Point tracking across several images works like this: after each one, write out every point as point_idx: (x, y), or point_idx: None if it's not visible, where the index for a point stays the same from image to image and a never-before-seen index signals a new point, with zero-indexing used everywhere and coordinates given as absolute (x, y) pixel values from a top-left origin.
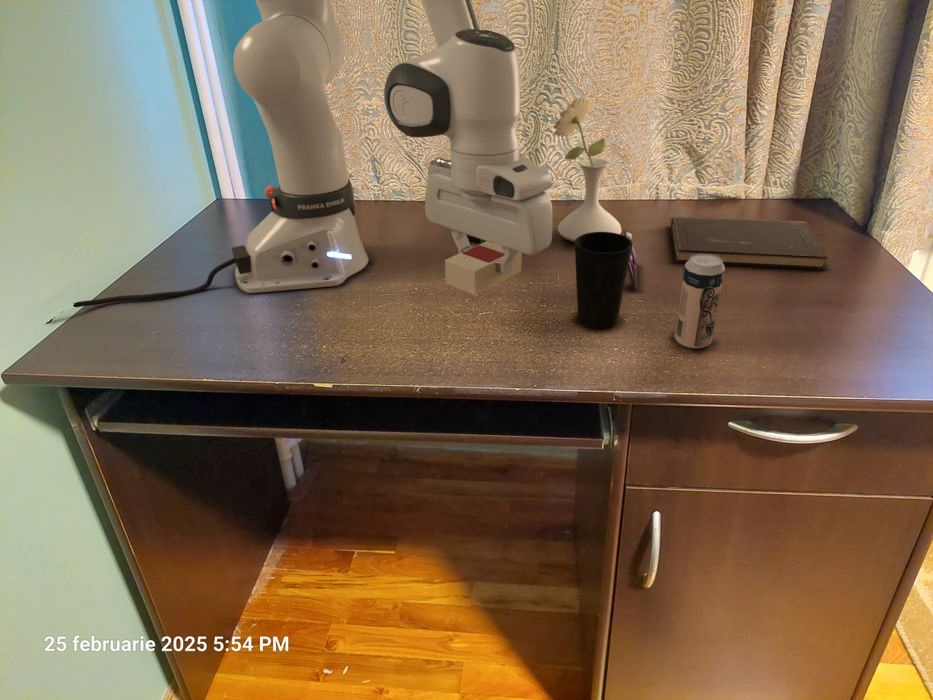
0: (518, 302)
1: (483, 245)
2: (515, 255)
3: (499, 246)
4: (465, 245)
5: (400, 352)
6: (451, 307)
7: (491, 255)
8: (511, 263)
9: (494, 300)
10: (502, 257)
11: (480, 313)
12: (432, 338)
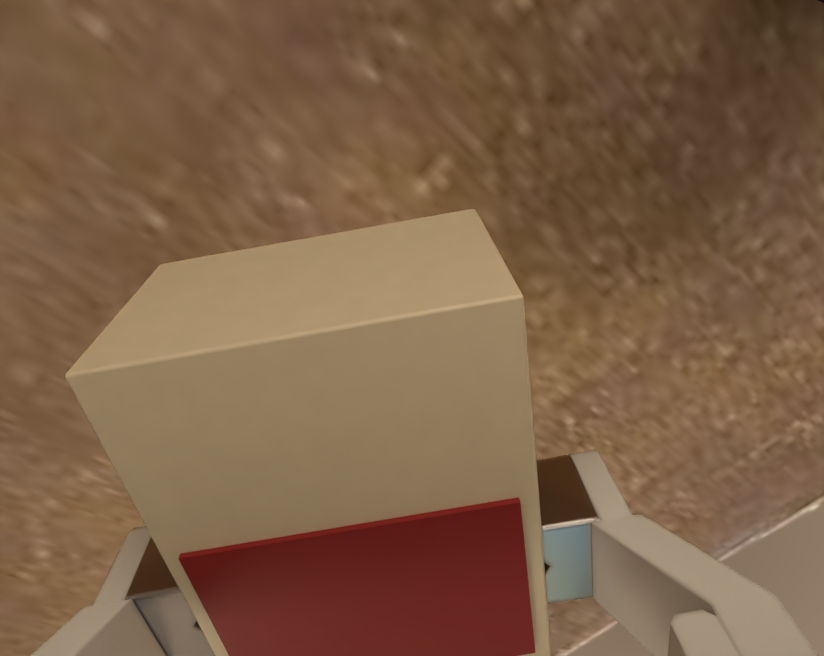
0: (373, 92)
1: (200, 527)
2: (700, 552)
3: (317, 438)
4: (137, 645)
5: None
6: None
7: (451, 593)
8: (620, 493)
9: (267, 182)
10: (535, 540)
11: None
12: None
